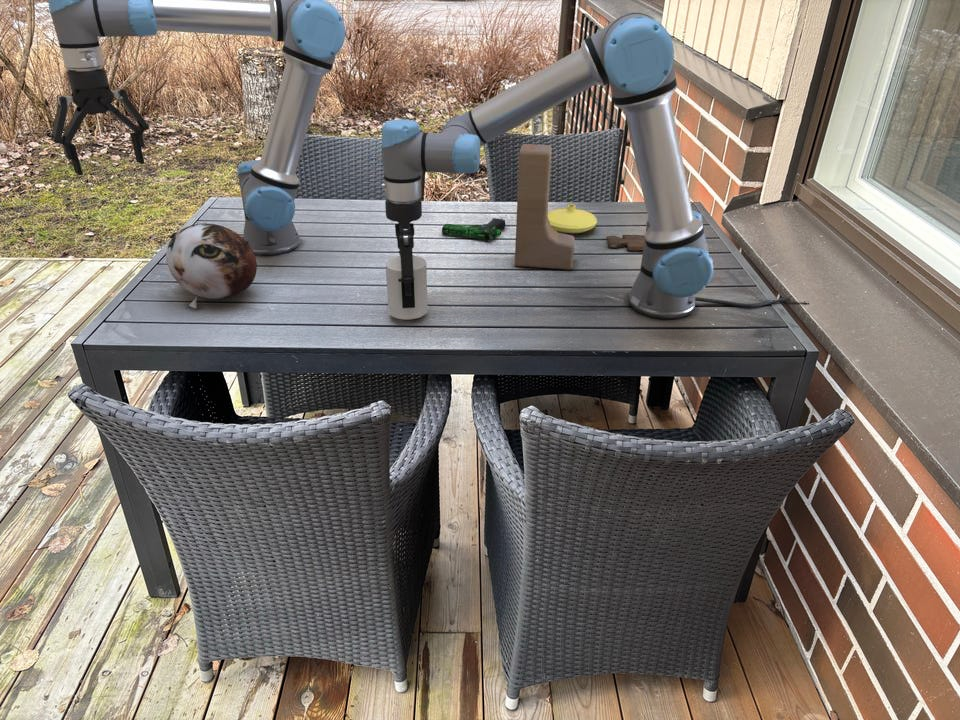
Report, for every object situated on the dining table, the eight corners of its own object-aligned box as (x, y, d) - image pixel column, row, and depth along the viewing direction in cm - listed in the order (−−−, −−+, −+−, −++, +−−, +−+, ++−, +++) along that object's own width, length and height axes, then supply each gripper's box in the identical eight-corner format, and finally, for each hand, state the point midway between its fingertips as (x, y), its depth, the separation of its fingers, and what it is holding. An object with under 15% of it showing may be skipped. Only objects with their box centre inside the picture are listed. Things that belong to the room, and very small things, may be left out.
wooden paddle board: (703, 254, 196) (694, 240, 205) (704, 248, 195) (696, 235, 204) (609, 250, 196) (605, 237, 205) (610, 244, 196) (605, 232, 204)
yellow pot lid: (559, 216, 220) (561, 193, 217) (605, 227, 212) (608, 204, 209) (532, 230, 209) (533, 207, 206) (580, 242, 201) (582, 218, 198)
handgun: (511, 219, 210) (493, 234, 198) (511, 228, 211) (492, 244, 199) (461, 212, 215) (440, 226, 203) (461, 221, 217) (440, 236, 204)
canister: (419, 321, 156) (417, 273, 150) (382, 316, 158) (379, 268, 152) (433, 304, 163) (431, 257, 157) (397, 299, 165) (394, 253, 159)
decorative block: (572, 270, 184) (582, 153, 169) (514, 266, 186) (519, 150, 171) (572, 259, 191) (582, 146, 175) (516, 255, 192) (521, 143, 177)
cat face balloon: (130, 285, 161) (164, 203, 163) (192, 308, 177) (221, 233, 178) (195, 307, 151) (229, 220, 152) (254, 330, 166) (285, 250, 168)
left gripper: (26, 76, 141) (57, 182, 152) (151, 64, 157) (171, 161, 168) (14, 72, 146) (45, 175, 157) (137, 60, 161) (157, 155, 172)
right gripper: (384, 183, 156) (389, 278, 168) (385, 217, 138) (391, 320, 149) (418, 182, 157) (421, 277, 169) (424, 215, 139) (427, 319, 150)
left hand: (110, 168), depth 162 cm, fingers open, 13 cm apart
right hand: (407, 297), depth 159 cm, fingers closed on canister, 9 cm apart
